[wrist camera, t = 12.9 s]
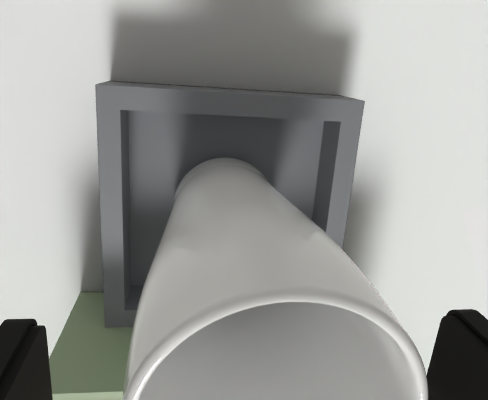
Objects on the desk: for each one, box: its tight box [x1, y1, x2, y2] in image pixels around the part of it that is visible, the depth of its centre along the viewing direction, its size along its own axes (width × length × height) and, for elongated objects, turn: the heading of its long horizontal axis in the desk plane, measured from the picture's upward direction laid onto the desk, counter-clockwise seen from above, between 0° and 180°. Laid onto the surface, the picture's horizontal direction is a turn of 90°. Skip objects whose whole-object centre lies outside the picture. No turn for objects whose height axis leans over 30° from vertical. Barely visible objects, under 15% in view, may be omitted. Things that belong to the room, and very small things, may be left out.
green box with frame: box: [49, 81, 365, 400], centre depth 21 cm, size 22×16×9 cm
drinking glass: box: [122, 157, 428, 400], centre depth 16 cm, size 7×7×15 cm
